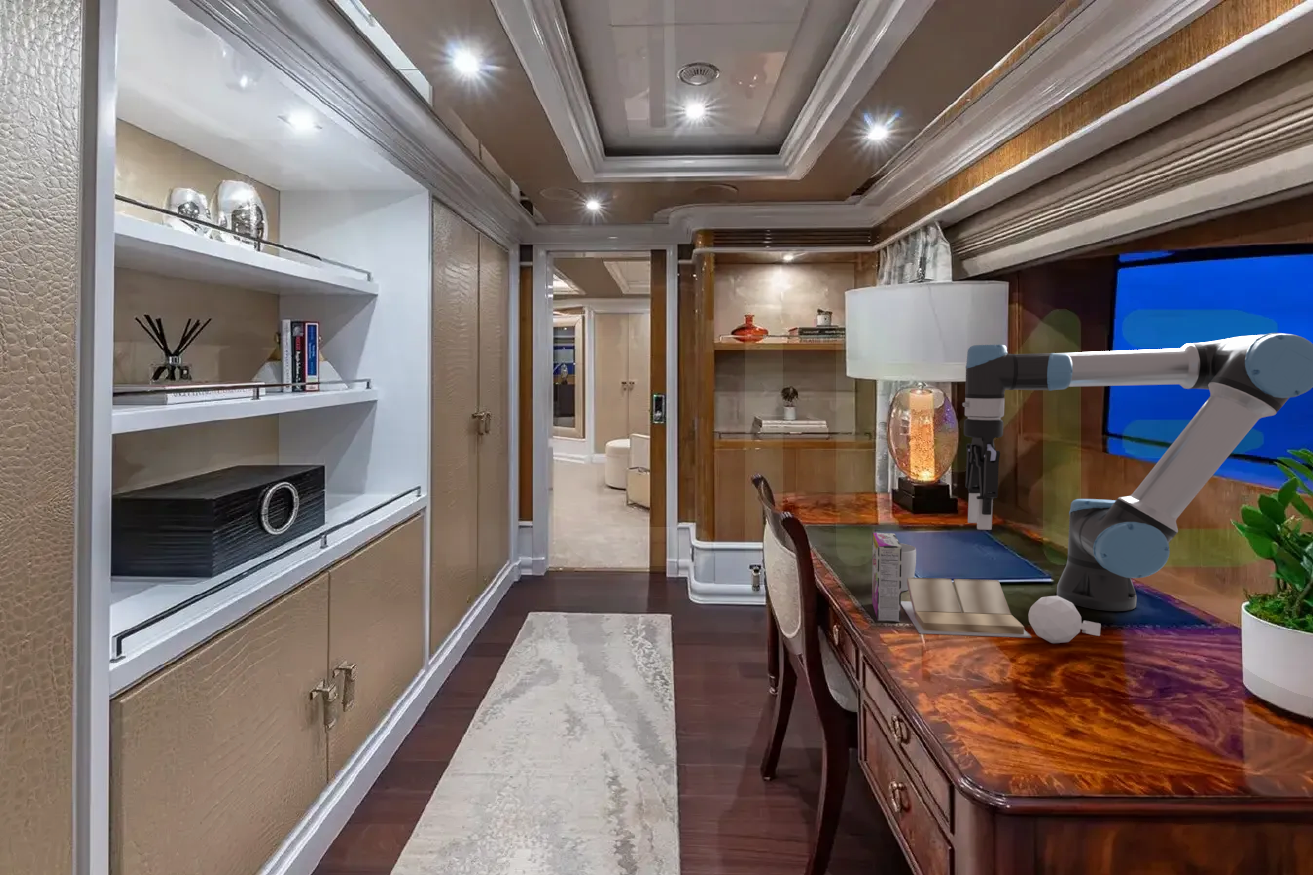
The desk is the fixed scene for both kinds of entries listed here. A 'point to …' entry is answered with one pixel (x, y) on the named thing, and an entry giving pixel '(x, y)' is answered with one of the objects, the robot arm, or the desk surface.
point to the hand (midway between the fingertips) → (979, 525)
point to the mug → (907, 564)
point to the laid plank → (969, 622)
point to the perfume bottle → (1058, 620)
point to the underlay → (909, 610)
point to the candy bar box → (886, 577)
